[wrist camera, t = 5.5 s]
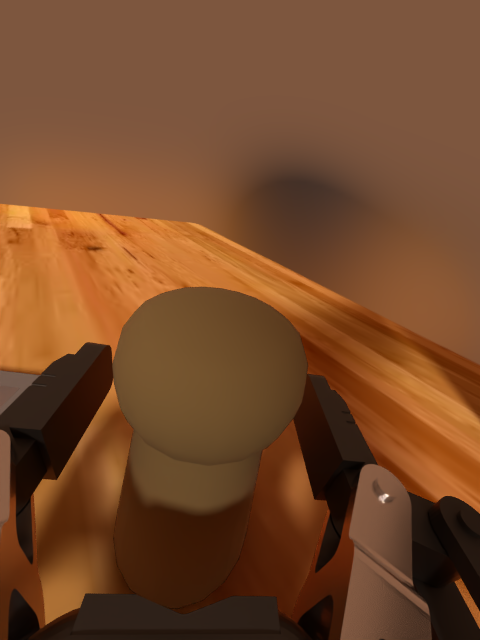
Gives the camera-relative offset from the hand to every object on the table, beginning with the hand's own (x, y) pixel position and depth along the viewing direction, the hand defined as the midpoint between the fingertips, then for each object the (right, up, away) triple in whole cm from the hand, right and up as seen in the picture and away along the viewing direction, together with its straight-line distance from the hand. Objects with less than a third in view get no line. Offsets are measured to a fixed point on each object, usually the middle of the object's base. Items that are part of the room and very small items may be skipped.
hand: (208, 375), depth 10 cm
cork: (-1, -7, +2) cm, 7 cm away
